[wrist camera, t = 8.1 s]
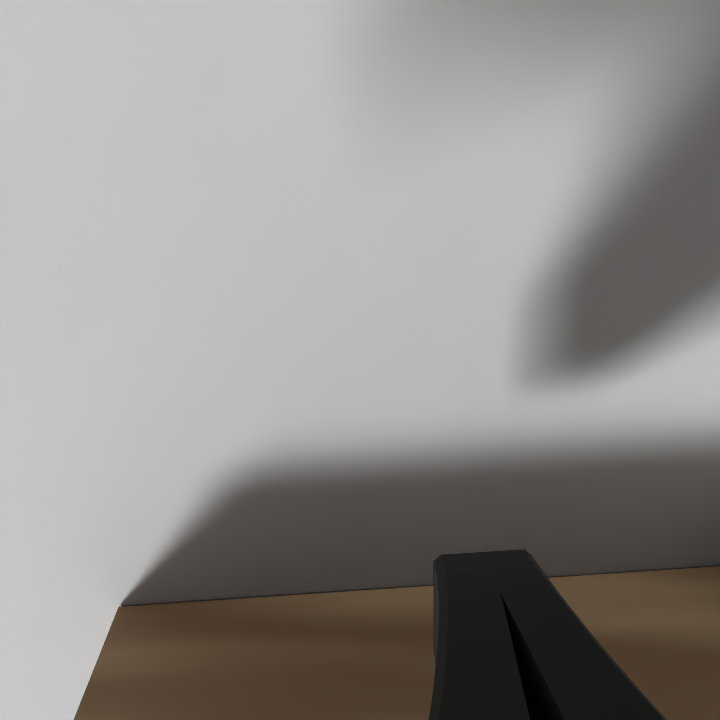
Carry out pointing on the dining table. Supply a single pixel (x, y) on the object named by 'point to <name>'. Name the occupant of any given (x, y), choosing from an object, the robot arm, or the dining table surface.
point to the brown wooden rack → (383, 651)
